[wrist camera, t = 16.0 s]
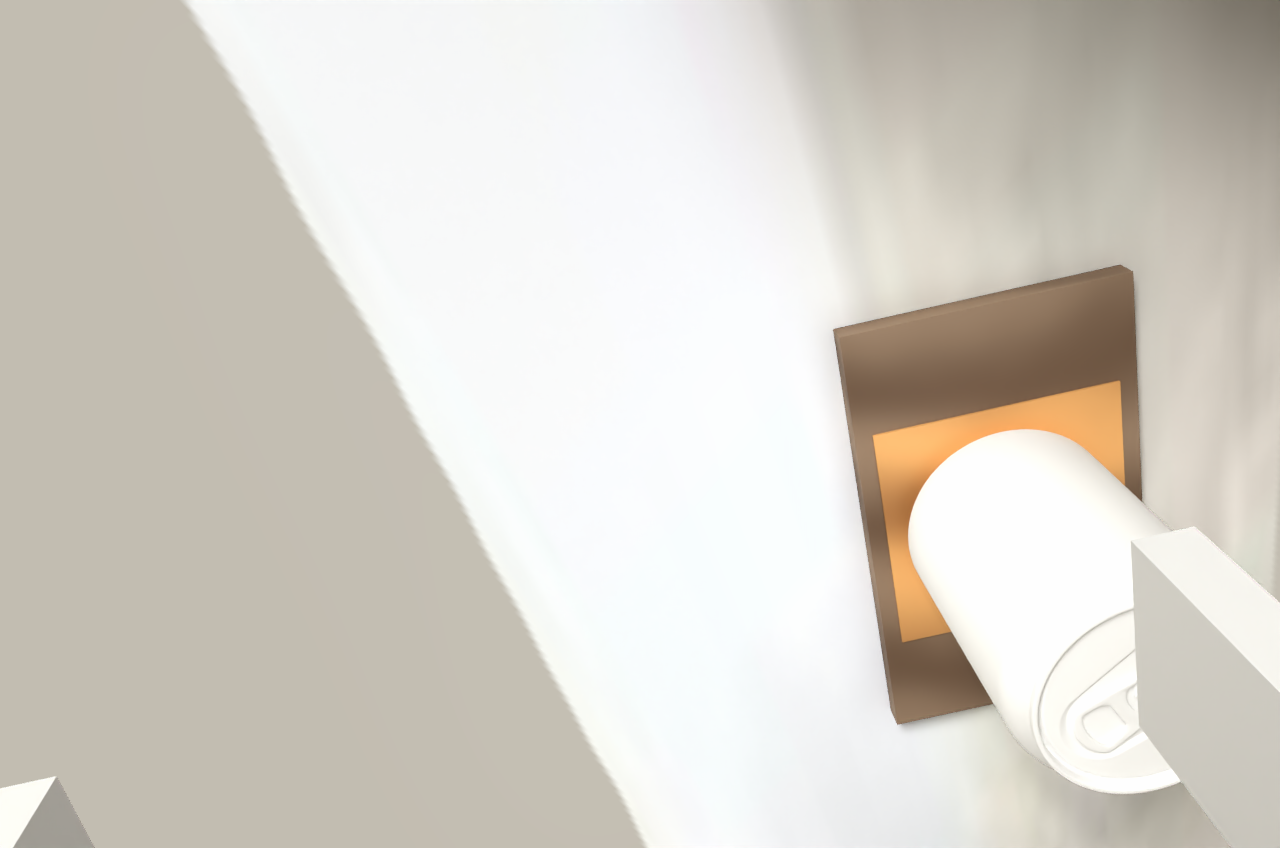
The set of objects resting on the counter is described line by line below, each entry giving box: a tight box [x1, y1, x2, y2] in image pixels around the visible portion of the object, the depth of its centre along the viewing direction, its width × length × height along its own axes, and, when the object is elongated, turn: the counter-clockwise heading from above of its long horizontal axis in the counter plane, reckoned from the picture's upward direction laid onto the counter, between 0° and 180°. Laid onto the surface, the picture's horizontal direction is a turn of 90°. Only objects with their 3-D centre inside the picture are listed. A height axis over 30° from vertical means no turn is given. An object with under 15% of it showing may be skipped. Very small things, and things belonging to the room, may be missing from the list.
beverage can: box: [908, 429, 1181, 794], centre depth 39 cm, size 8×8×12 cm
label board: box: [833, 265, 1142, 725], centre depth 45 cm, size 18×11×1 cm, turn 12°
